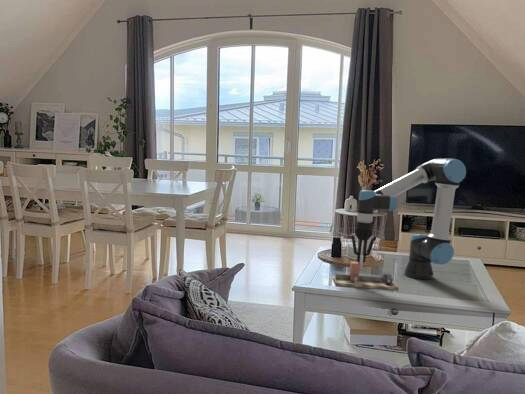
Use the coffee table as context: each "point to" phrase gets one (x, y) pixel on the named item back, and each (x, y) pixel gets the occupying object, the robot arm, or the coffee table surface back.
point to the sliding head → (354, 271)
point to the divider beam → (368, 278)
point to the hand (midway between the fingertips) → (360, 268)
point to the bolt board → (365, 284)
